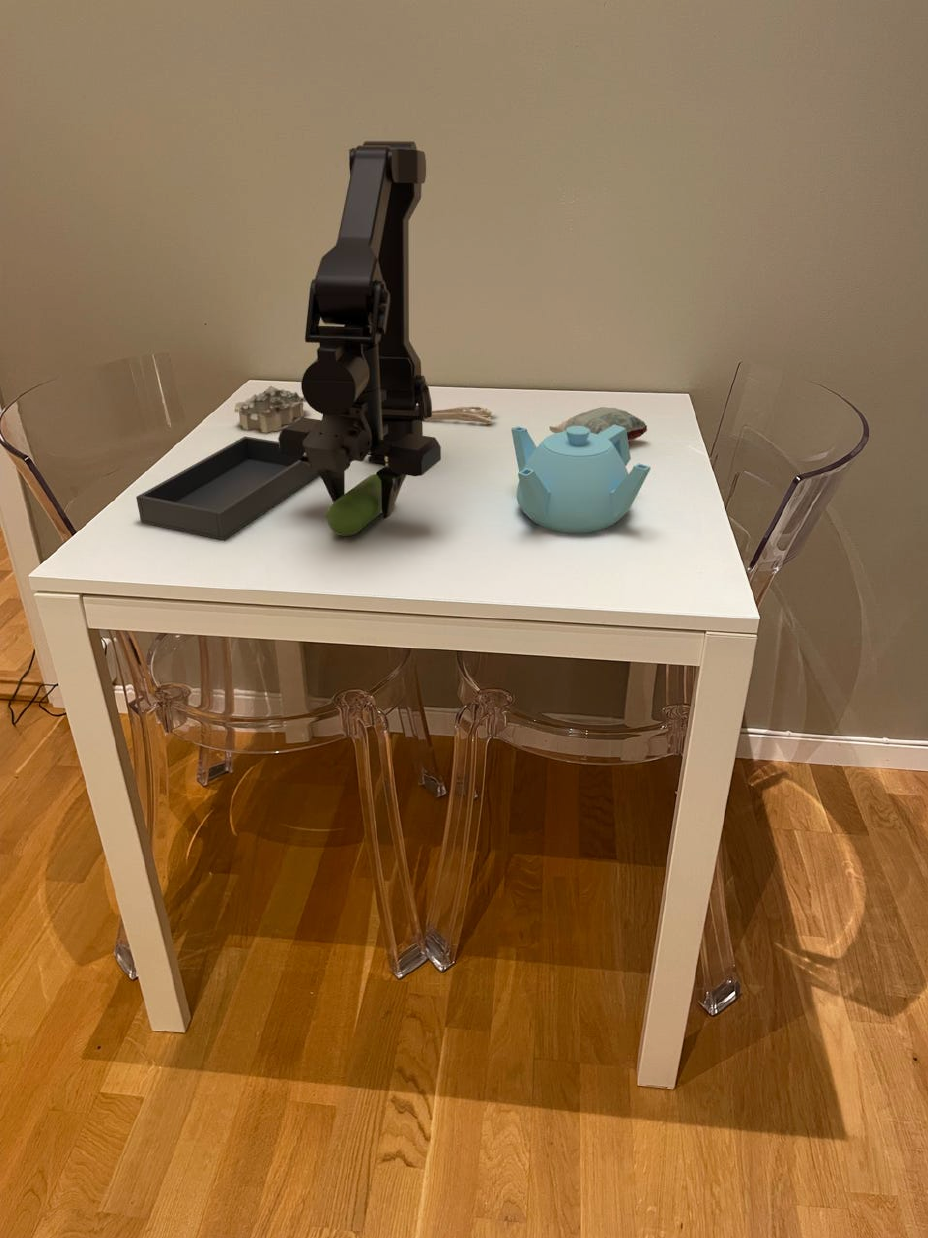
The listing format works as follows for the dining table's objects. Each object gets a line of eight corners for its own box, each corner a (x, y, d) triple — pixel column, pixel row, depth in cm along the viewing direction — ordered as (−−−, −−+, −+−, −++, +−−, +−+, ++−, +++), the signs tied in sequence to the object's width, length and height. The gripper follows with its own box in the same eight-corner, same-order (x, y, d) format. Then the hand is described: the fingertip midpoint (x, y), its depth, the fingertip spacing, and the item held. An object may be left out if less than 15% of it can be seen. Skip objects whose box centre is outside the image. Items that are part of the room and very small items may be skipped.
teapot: (646, 540, 110) (655, 452, 104) (516, 541, 109) (519, 453, 104) (625, 487, 123) (632, 407, 117) (509, 488, 122) (511, 408, 117)
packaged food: (548, 444, 136) (550, 411, 133) (606, 426, 142) (608, 394, 139) (591, 463, 130) (594, 428, 127) (649, 443, 136) (653, 410, 134)
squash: (403, 504, 119) (401, 471, 116) (354, 545, 109) (351, 510, 107) (372, 498, 120) (370, 466, 118) (321, 538, 110) (318, 503, 108)
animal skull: (492, 415, 147) (491, 402, 146) (491, 426, 143) (490, 413, 142) (381, 420, 148) (379, 408, 147) (377, 431, 144) (375, 419, 143)
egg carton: (272, 435, 140) (269, 408, 138) (231, 427, 143) (227, 401, 141) (312, 413, 148) (310, 387, 146) (273, 406, 151) (270, 381, 149)
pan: (323, 472, 127) (321, 448, 126) (224, 540, 110) (220, 513, 108) (247, 459, 132) (244, 436, 130) (141, 522, 114) (135, 496, 113)
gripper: (243, 396, 103) (260, 526, 111) (395, 419, 96) (401, 555, 104) (298, 369, 111) (310, 491, 120) (441, 388, 105) (444, 515, 113)
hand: (363, 512), depth 114 cm, fingers open, 6 cm apart
